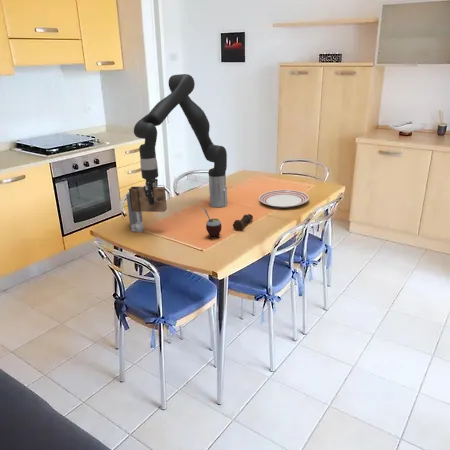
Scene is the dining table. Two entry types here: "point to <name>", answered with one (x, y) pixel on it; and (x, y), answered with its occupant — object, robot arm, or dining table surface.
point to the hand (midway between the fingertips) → (152, 202)
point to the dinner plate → (284, 198)
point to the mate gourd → (213, 227)
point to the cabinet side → (134, 218)
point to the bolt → (242, 222)
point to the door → (147, 200)
